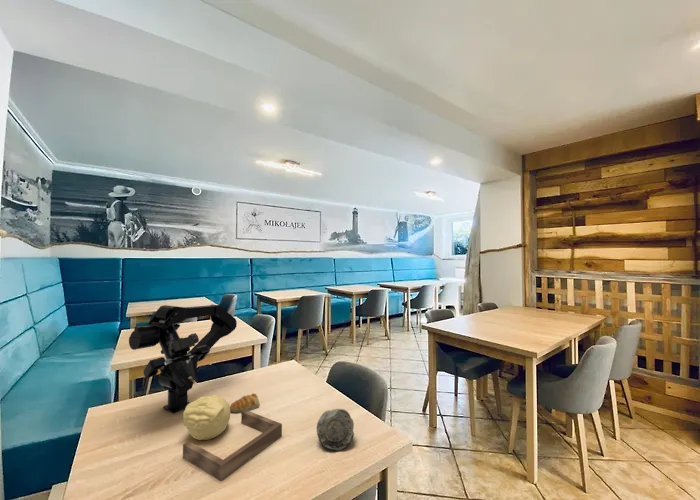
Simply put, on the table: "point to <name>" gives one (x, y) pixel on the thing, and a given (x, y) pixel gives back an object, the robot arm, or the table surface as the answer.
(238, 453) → the frame
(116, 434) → the table surface
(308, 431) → the table surface
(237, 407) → the pastry
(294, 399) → the table surface
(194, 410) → the sculpture
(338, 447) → the fossil
